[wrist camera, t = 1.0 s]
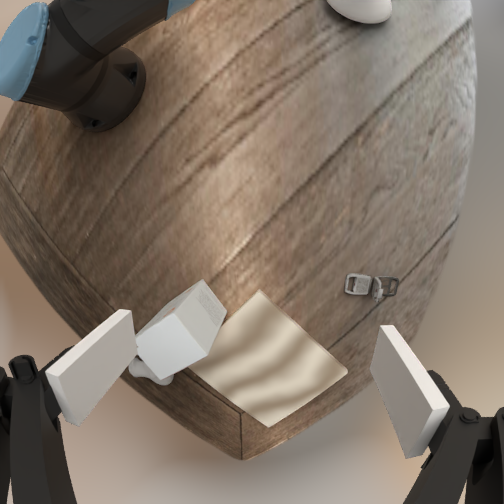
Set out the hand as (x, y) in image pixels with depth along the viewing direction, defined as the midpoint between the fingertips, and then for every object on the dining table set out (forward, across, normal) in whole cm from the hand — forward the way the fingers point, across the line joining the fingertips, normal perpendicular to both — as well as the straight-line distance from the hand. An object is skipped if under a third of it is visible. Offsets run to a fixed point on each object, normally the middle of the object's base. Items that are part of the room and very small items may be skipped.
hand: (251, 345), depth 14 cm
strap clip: (+27, +15, -5) cm, 31 cm away
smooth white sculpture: (+27, -19, -22) cm, 39 cm away
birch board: (+26, 0, -20) cm, 33 cm away
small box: (+27, -11, -10) cm, 31 cm away
